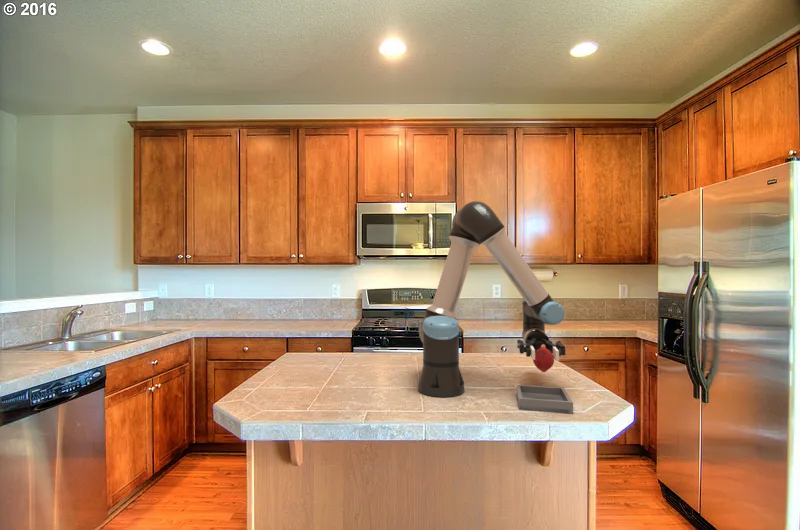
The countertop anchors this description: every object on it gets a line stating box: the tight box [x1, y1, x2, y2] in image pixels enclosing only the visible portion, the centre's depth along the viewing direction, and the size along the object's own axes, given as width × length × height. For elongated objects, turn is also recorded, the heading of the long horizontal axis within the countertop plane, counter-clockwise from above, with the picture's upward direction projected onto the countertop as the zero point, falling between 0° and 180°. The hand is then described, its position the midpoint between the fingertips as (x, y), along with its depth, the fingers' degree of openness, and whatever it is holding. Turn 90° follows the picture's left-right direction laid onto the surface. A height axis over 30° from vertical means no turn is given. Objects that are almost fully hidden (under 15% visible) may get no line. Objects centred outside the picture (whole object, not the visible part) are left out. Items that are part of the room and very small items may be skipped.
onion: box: [532, 345, 555, 373], centre depth 112 cm, size 6×6×8 cm
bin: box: [515, 384, 574, 415], centre depth 112 cm, size 14×14×3 cm
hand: (545, 355), depth 107 cm, fingers closed on onion, 6 cm apart
